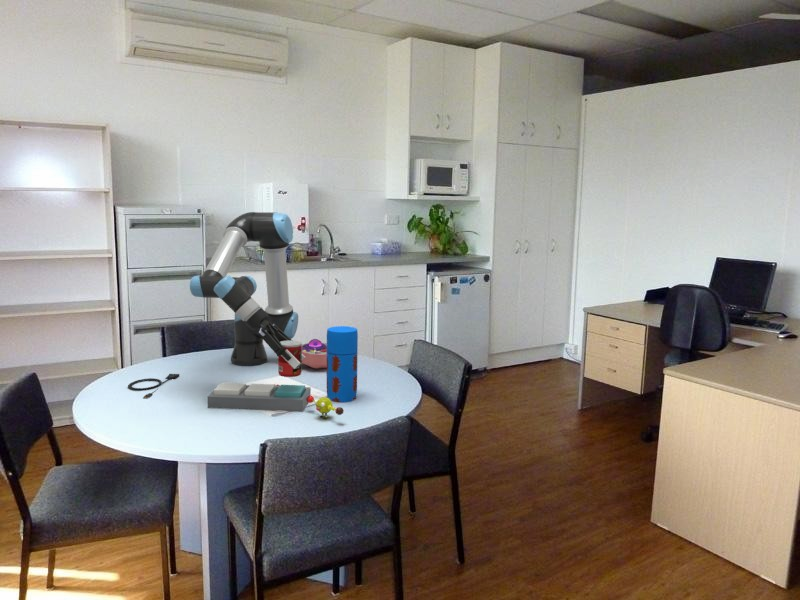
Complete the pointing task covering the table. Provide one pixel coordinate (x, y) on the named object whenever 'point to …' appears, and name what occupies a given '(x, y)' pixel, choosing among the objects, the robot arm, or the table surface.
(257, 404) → the keypad frame
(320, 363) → the cell model
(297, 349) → the canned food
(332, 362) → the thermos
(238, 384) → the key near
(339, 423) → the table surface
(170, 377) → the cable
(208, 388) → the table surface
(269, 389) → the key middle
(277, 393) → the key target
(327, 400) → the toy figure
